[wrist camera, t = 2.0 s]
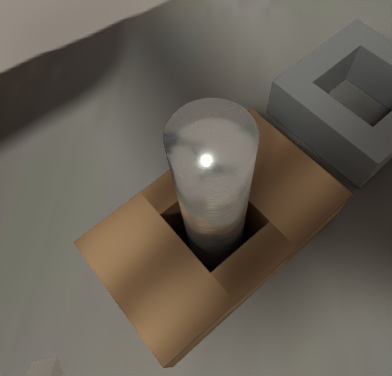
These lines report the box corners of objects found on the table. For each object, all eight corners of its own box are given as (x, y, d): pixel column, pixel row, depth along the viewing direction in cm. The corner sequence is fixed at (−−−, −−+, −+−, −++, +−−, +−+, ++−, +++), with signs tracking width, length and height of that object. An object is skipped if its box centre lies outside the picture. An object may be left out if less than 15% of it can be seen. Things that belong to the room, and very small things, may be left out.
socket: (266, 111, 41) (272, 81, 37) (342, 53, 44) (356, 18, 40) (359, 188, 37) (378, 164, 32) (436, 117, 40) (464, 85, 35)
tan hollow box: (95, 260, 35) (73, 242, 30) (247, 142, 40) (251, 108, 34) (173, 366, 31) (163, 367, 25) (332, 219, 35) (353, 193, 30)
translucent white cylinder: (178, 237, 35) (144, 132, 19) (217, 206, 37) (215, 83, 20) (212, 276, 34) (205, 196, 17) (251, 242, 35) (279, 138, 19)
